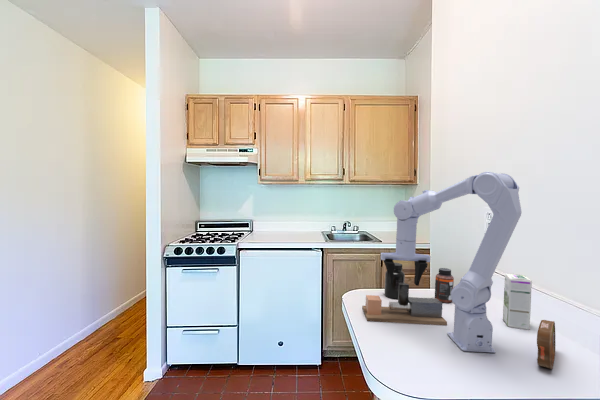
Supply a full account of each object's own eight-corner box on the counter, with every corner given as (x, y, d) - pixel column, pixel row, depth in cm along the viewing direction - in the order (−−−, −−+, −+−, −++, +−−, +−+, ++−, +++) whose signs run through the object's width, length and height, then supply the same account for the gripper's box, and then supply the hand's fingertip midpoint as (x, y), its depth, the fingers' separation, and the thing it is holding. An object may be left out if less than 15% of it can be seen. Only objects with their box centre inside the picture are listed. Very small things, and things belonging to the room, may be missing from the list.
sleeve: (441, 318, 97) (442, 303, 97) (411, 316, 98) (411, 302, 98) (436, 312, 102) (436, 298, 102) (407, 310, 102) (407, 297, 102)
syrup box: (530, 330, 93) (533, 280, 93) (506, 326, 95) (509, 277, 95) (523, 322, 99) (526, 275, 98) (501, 319, 100) (504, 273, 100)
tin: (551, 375, 70) (553, 337, 70) (533, 370, 72) (535, 332, 72) (556, 351, 82) (558, 317, 81) (540, 346, 84) (542, 314, 83)
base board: (446, 325, 95) (447, 321, 95) (367, 321, 96) (367, 317, 96) (434, 312, 105) (434, 309, 105) (362, 308, 106) (362, 305, 106)
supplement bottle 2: (455, 303, 113) (457, 271, 113) (438, 303, 113) (440, 271, 113) (448, 298, 119) (449, 267, 119) (431, 297, 119) (433, 266, 119)
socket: (380, 314, 98) (381, 300, 98) (367, 314, 98) (368, 299, 98) (378, 309, 103) (378, 295, 102) (365, 308, 103) (365, 295, 103)
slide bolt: (434, 313, 98) (435, 287, 98) (390, 311, 99) (391, 285, 98) (430, 309, 101) (431, 284, 101) (388, 307, 102) (389, 282, 101)
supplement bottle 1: (380, 294, 121) (381, 262, 120) (394, 292, 124) (396, 261, 123) (393, 300, 114) (394, 266, 114) (407, 298, 117) (409, 265, 117)
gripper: (425, 238, 103) (423, 281, 103) (379, 236, 104) (377, 279, 104) (433, 242, 96) (431, 288, 96) (384, 240, 96) (382, 285, 97)
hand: (403, 284), depth 100 cm, fingers open, 7 cm apart
